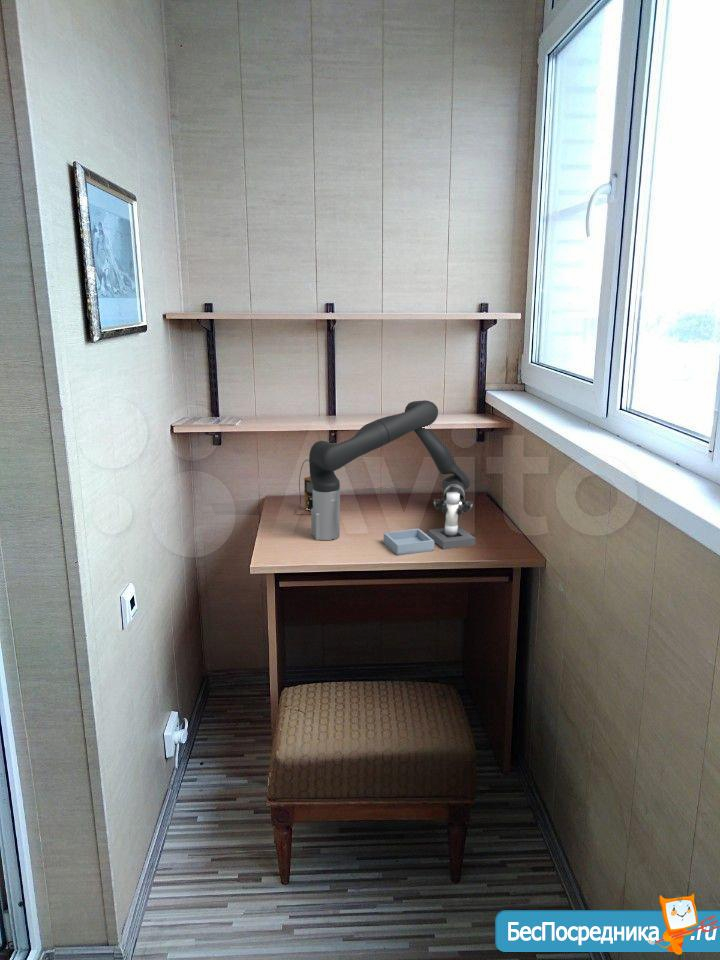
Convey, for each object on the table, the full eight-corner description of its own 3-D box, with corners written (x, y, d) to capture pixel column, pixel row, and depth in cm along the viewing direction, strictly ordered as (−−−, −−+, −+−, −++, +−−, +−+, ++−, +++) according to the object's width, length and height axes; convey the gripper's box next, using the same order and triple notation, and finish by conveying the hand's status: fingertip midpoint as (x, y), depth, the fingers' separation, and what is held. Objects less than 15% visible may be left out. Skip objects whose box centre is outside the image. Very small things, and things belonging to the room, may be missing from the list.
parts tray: (397, 555, 218) (397, 545, 217) (383, 542, 229) (383, 532, 228) (433, 550, 222) (434, 540, 221) (418, 538, 233) (418, 528, 232)
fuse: (448, 535, 227) (450, 496, 223) (442, 531, 231) (444, 492, 227) (459, 534, 229) (462, 495, 225) (453, 530, 232) (455, 491, 229)
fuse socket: (443, 549, 223) (443, 542, 223) (427, 536, 234) (427, 530, 233) (475, 544, 227) (475, 537, 227) (458, 532, 238) (458, 526, 237)
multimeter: (284, 512, 258) (282, 461, 252) (303, 506, 265) (302, 456, 259) (310, 521, 248) (309, 469, 243) (329, 515, 255) (329, 464, 250)
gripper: (434, 485, 241) (431, 499, 225) (474, 487, 239) (474, 502, 223) (433, 505, 243) (430, 521, 227) (473, 508, 241) (472, 524, 225)
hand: (452, 511), depth 225 cm, fingers closed on fuse, 4 cm apart
